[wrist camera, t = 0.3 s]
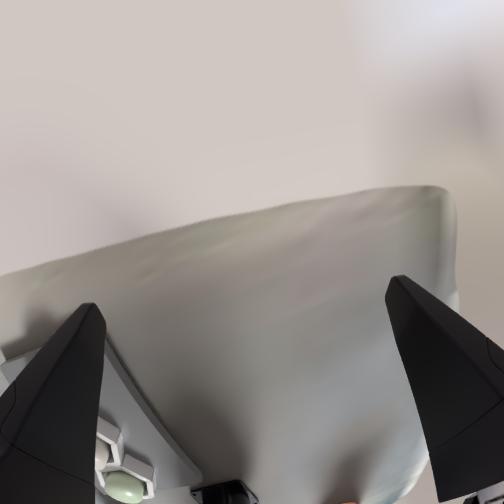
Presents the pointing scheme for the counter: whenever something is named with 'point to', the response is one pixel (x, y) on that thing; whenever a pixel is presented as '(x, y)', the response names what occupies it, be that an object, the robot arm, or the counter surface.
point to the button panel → (129, 431)
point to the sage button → (124, 487)
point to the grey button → (101, 453)
